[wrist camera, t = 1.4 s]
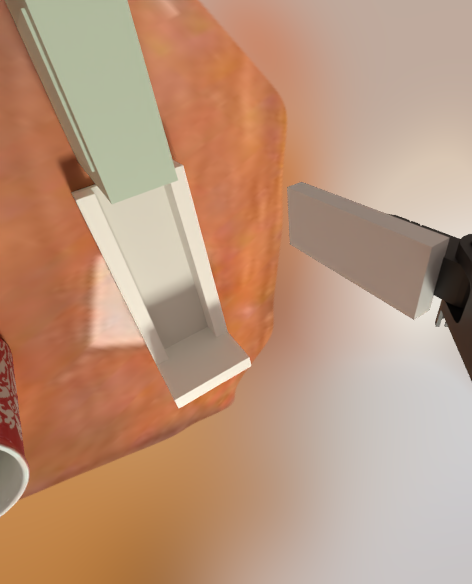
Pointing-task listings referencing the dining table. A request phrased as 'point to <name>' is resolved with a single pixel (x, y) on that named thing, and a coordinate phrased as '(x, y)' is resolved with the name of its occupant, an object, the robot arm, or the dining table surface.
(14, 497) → the mug
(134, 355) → the dining table surface
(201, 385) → the track
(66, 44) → the door panel
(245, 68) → the dining table surface
